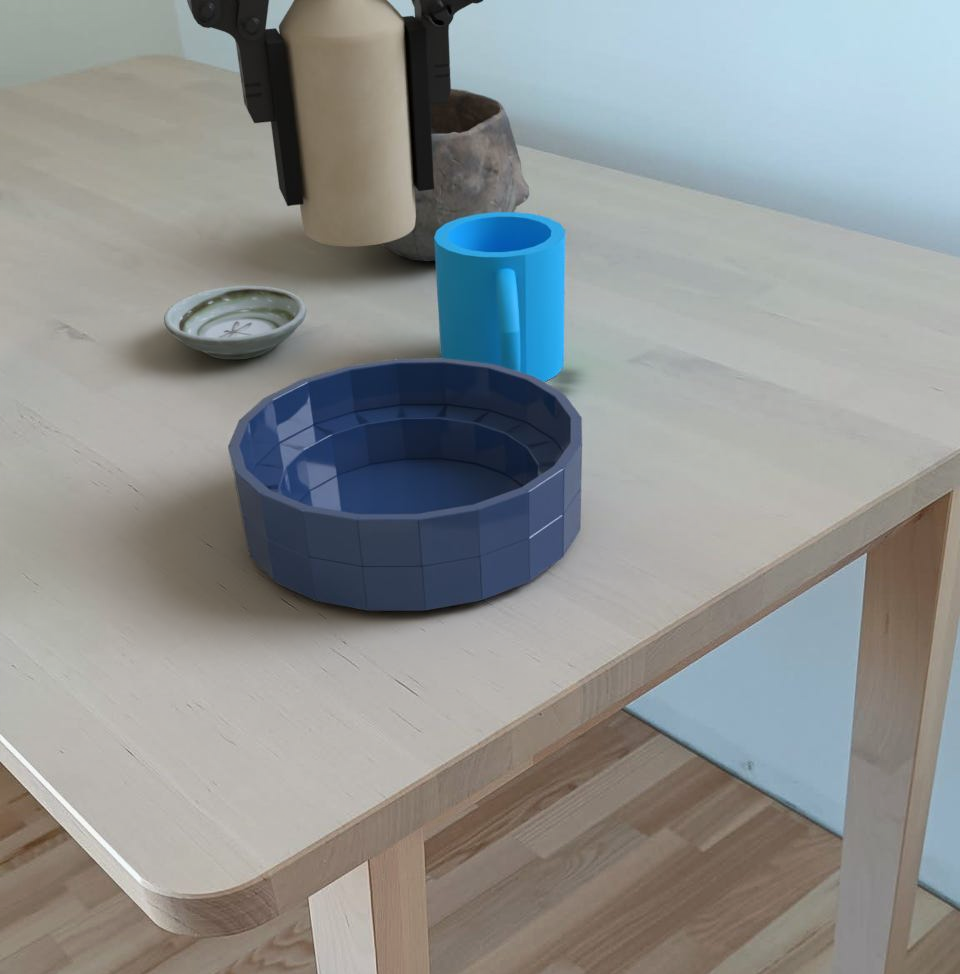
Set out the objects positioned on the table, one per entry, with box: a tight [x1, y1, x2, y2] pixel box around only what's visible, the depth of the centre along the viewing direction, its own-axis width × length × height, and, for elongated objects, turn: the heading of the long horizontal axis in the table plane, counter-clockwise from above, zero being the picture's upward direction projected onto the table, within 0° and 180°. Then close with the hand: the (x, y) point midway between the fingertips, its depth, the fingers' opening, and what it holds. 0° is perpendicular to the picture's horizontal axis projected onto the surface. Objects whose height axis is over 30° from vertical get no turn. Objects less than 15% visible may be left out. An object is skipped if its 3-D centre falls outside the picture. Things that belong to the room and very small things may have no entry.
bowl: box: [380, 88, 530, 262], centre depth 97 cm, size 14×15×10 cm
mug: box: [434, 211, 566, 383], centre depth 80 cm, size 12×8×8 cm
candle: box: [278, 0, 416, 247], centre depth 58 cm, size 6×6×10 cm
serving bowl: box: [227, 357, 583, 612], centre depth 68 cm, size 18×18×6 cm
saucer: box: [163, 285, 307, 360], centre depth 87 cm, size 10×10×2 cm
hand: (356, 187), depth 60 cm, fingers closed on candle, 5 cm apart
